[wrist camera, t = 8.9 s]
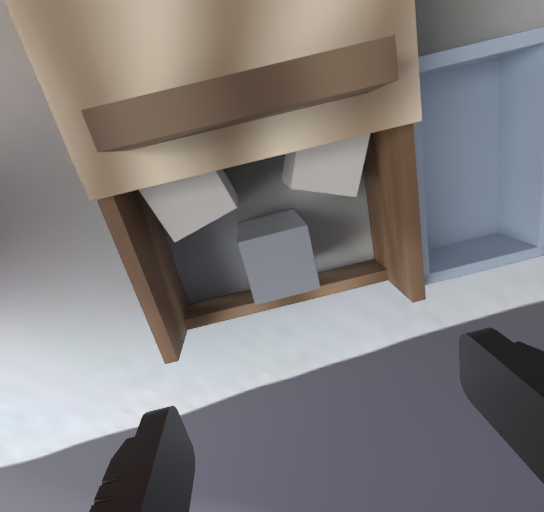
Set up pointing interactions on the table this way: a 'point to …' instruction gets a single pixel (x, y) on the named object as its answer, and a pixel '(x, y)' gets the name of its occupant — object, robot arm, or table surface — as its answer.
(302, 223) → the grey block
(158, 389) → the table surface
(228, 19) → the lid
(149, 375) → the table surface
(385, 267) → the brown cabinet frame
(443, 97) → the tub
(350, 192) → the light grey cube
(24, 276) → the table surface
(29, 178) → the table surface
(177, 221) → the grey block
